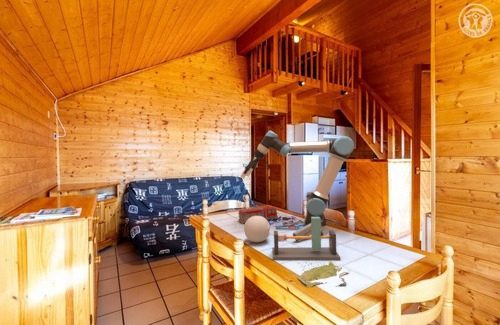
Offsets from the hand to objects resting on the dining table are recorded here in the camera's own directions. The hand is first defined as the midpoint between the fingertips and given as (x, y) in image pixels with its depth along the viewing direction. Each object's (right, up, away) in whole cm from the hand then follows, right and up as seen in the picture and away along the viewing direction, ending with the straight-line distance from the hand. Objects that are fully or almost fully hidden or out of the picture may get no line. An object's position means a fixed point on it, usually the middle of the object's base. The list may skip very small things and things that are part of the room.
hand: (244, 176), depth 171 cm
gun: (+40, -36, -25) cm, 59 cm away
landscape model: (+36, -38, -71) cm, 88 cm away
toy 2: (+8, -37, -27) cm, 46 cm away
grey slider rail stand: (+31, -37, -48) cm, 68 cm away
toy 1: (+10, -35, +18) cm, 41 cm away
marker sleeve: (+37, -34, -49) cm, 70 cm away
